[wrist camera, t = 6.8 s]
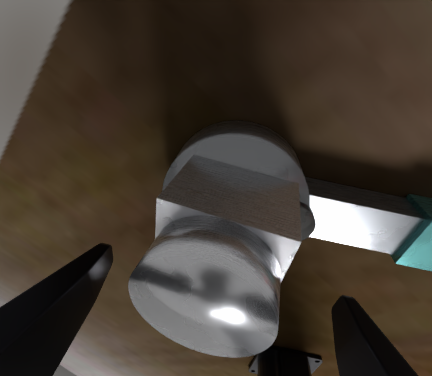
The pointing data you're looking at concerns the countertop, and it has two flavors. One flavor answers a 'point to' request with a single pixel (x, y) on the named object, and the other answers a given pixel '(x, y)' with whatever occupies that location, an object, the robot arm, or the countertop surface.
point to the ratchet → (321, 194)
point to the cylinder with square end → (219, 258)
